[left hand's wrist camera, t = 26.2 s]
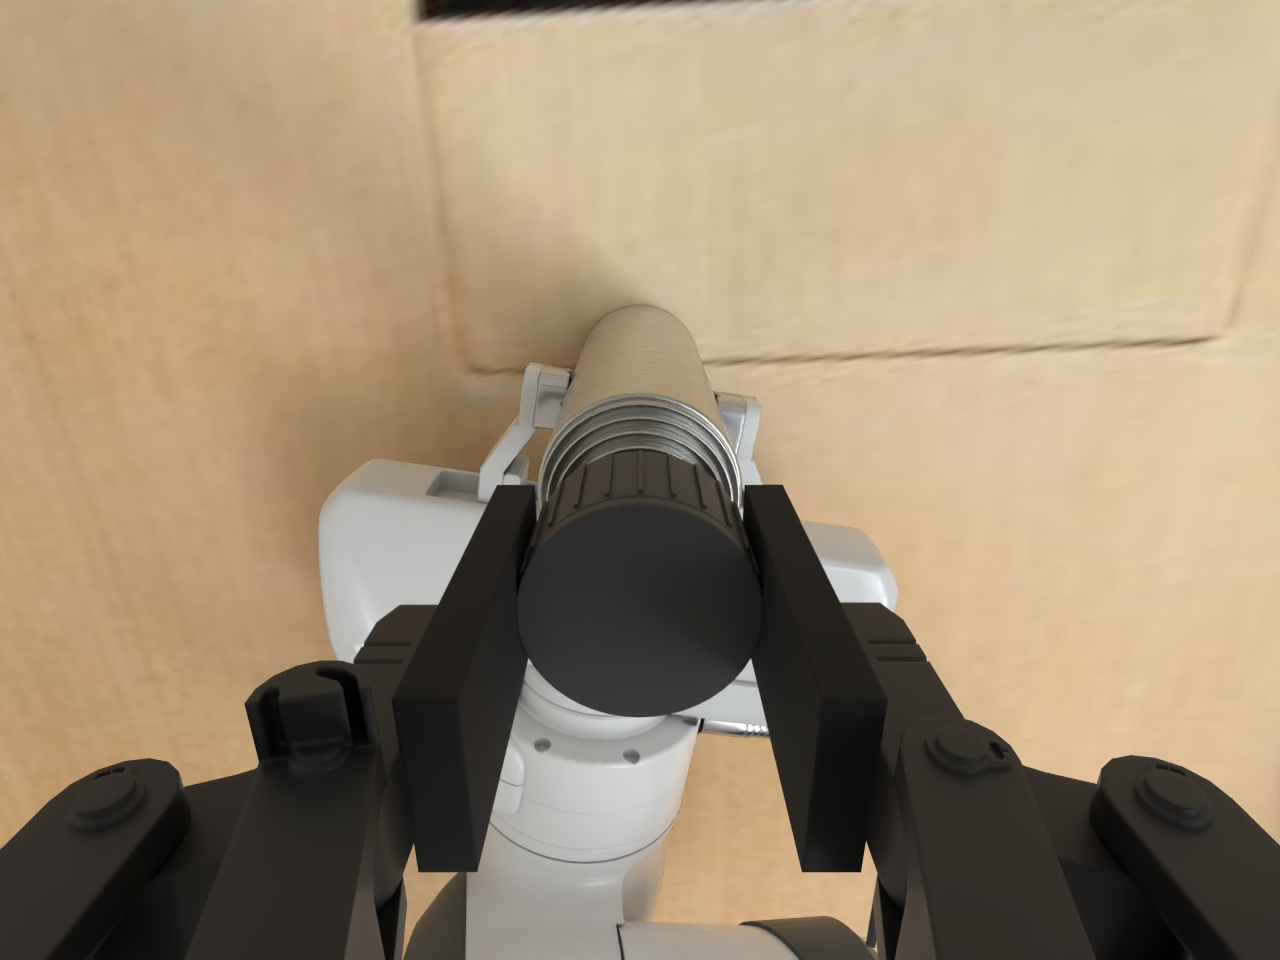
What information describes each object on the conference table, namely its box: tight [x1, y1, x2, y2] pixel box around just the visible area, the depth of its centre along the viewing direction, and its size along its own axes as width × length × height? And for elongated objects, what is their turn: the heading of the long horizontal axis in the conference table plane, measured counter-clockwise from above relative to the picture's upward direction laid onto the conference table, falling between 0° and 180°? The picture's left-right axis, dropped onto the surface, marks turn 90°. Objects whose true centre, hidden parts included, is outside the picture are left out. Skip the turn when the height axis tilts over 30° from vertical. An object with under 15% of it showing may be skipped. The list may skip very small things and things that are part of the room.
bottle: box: [537, 305, 742, 510], centre depth 22 cm, size 5×5×19 cm
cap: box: [517, 450, 763, 718], centre depth 13 cm, size 4×4×3 cm
